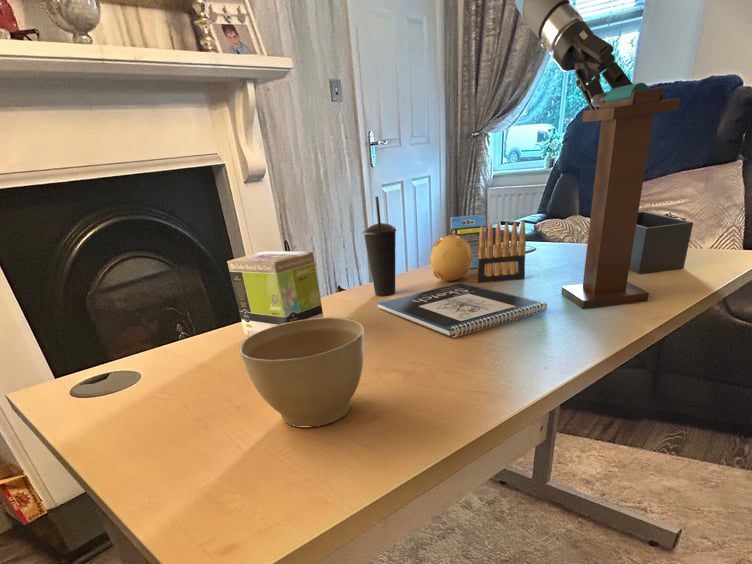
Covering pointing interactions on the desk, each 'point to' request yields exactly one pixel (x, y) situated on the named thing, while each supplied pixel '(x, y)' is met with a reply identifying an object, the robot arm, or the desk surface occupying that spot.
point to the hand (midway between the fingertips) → (626, 116)
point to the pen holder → (659, 243)
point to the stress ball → (451, 258)
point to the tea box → (275, 288)
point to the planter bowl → (307, 367)
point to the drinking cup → (382, 255)
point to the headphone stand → (617, 198)
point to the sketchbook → (461, 308)
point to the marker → (618, 94)
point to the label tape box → (469, 233)
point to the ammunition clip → (492, 254)
